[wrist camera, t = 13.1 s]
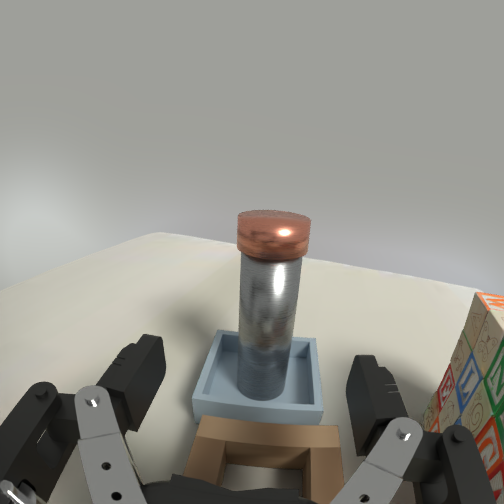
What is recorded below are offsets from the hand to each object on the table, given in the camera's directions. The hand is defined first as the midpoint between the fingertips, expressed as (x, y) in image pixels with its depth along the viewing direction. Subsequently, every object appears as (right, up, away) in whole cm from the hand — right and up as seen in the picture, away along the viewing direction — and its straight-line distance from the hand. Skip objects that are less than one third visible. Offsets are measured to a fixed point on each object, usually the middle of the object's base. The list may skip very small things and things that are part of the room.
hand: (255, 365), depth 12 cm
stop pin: (+1, -6, +12) cm, 14 cm away
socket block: (0, -11, +2) cm, 11 cm away
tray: (+1, -7, +12) cm, 14 cm away
